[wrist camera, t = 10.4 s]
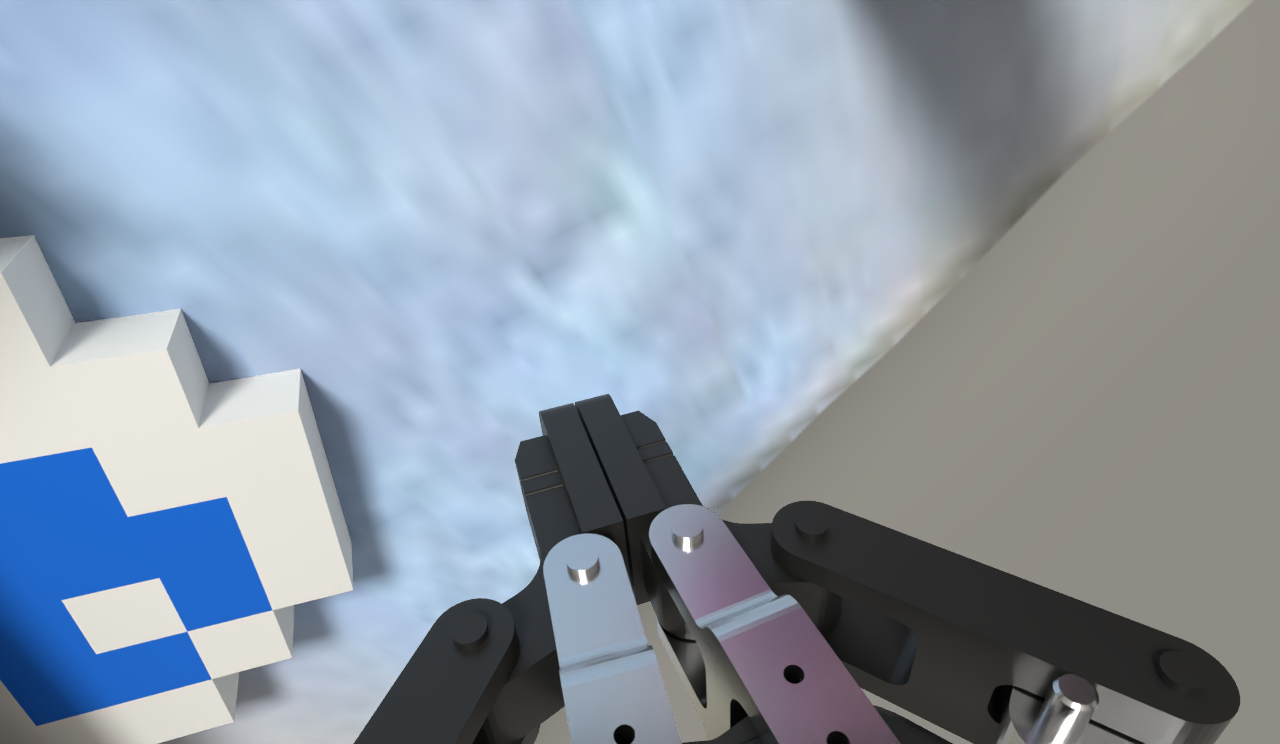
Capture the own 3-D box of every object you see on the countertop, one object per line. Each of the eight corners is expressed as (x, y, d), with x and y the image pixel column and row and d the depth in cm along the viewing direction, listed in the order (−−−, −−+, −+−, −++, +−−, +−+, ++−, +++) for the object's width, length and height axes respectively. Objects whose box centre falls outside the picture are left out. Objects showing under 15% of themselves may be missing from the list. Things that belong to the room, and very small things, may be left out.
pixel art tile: (247, 244, 28) (380, 679, 44) (255, 208, 31) (377, 626, 47) (-857, 372, 20) (-217, 850, 36) (-698, 307, 23) (-173, 772, 39)
